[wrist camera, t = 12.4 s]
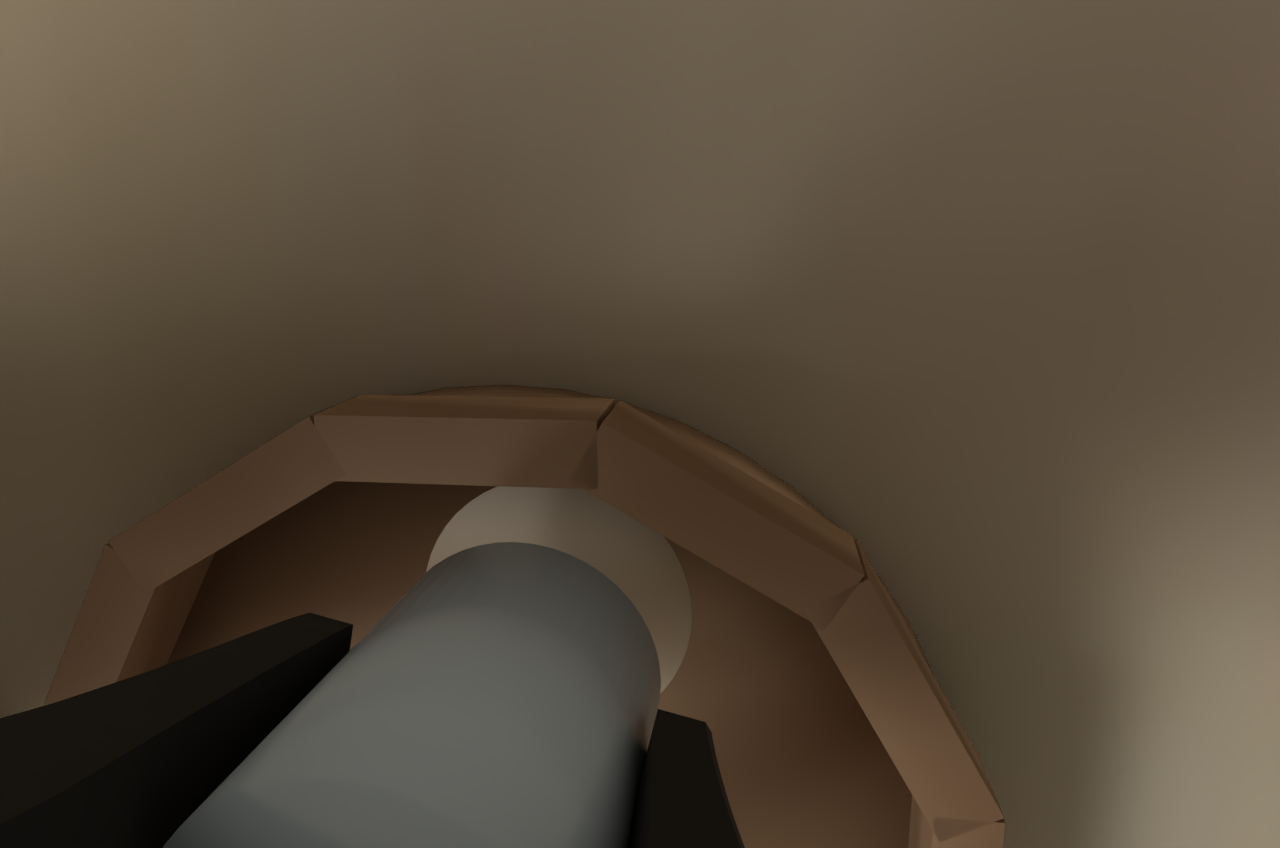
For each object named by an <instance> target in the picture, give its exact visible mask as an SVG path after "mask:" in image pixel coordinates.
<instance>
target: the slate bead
mask: <svg viewBox="0 0 1280 848" xmlns="http://www.w3.org/2000/svg"><path fill="white" fill-rule="evenodd" d="M660 690H661V675H660V664H659V660H658V655H657V651H656V647H655V644H654V642H653V639H652V636H651V634H650V631H649V629H648V627H647V625H646V624H645V622H644V620H643V618H642V616H641V614H640V613H639V612H638V610H637V609H636V607H635V606H634V605H633V603H632V602H631V600H630V599H629V598H628V597H627V596H626V595H625V594H624V593H623V592H622V590H621V589H620V588H619V587H618V586H617V585H616V584H614V583H613V582H612V581H611V580H610V579H609V578H607V577H606V576H605V575H604V574H603V573H601V572H600V571H598V570H597V569H595V568H594V567H592V566H591V565H589V564H588V563H586V562H584V561H582V560H580V559H578V558H576V557H574V556H572V555H570V554H567V553H564V552H561V551H559V550H556V549H553V548H549V547H545V546H541V545H536V544H530V543H520V542H497V543H490V544H484V545H478V546H475V547H472V548H468V549H465V550H462V551H460V552H458V553H455V554H453V555H451V556H449V557H447V558H445V559H444V560H442V561H441V562H439V563H437V564H436V565H434V566H433V567H432V568H431V569H430V570H428V571H427V572H426V573H425V574H424V575H423V576H421V577H420V578H419V579H418V581H417V582H416V583H415V584H414V585H413V586H412V587H411V588H410V589H409V590H408V591H407V592H406V593H405V594H404V595H403V596H402V597H401V598H400V599H399V600H398V601H397V602H396V603H395V604H394V605H393V606H392V607H391V608H390V610H389V611H388V612H387V613H386V614H385V615H384V616H383V617H382V618H381V619H380V620H379V621H378V622H377V623H376V624H375V625H374V626H373V627H372V628H371V629H370V630H369V631H368V632H367V633H366V634H365V635H364V636H363V637H362V638H361V640H360V641H359V642H358V643H357V644H356V645H355V646H354V647H353V648H352V649H351V650H350V651H349V652H348V653H347V654H346V655H345V656H344V657H343V658H342V659H341V660H340V661H339V662H338V663H337V664H336V665H335V666H334V667H333V668H332V670H331V671H330V672H329V673H328V674H327V675H326V676H325V677H324V678H323V679H322V680H321V681H320V682H319V683H318V684H317V685H316V686H315V687H314V688H313V689H312V690H311V691H310V692H309V693H308V694H307V695H306V696H305V697H304V699H303V700H302V701H301V702H300V703H299V704H298V705H297V706H296V707H295V708H294V709H293V710H292V711H291V712H290V713H289V714H288V715H287V716H286V717H285V718H284V719H283V720H282V721H281V722H280V723H279V724H278V725H277V726H276V727H275V729H274V730H273V731H272V732H271V733H270V734H269V735H268V736H267V737H266V738H265V739H264V740H263V741H262V742H261V743H260V744H259V745H258V746H257V747H256V748H255V749H254V750H253V751H252V752H251V753H250V754H249V755H248V756H247V757H246V759H245V760H244V761H243V762H242V763H241V764H240V765H239V766H238V767H237V768H236V769H235V770H234V771H233V772H232V773H231V774H230V775H229V776H228V777H227V778H226V779H225V780H224V781H223V782H222V783H221V784H220V785H219V786H218V788H217V789H216V790H215V791H214V792H213V793H212V794H211V795H210V796H209V797H208V798H207V799H206V800H205V801H204V802H203V803H202V804H201V805H200V806H199V807H198V808H197V809H196V810H195V811H194V812H193V813H192V814H191V815H190V816H189V818H188V819H187V820H186V821H185V822H184V823H183V824H182V825H181V826H180V827H179V828H178V829H177V830H176V832H175V833H174V834H173V835H172V836H171V838H170V839H169V840H168V841H167V842H166V844H165V845H164V846H163V848H628V846H629V841H630V835H631V829H632V822H633V815H634V809H635V804H636V800H637V795H638V790H639V786H640V781H641V777H642V772H643V767H644V763H645V758H646V753H647V749H648V745H649V741H650V738H651V734H652V730H653V726H654V722H655V718H656V714H657V710H658V705H659V700H660Z"/></svg>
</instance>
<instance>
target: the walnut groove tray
mask: <svg viewBox="0 0 1280 848" xmlns="http://www.w3.org/2000/svg"><path fill="white" fill-rule="evenodd" d="M108 542H109V543H108V544H106V545H105V547H104V550H103V553H102V555H101V558H100V560H99V563H98V566H97V568H96V571H95V573H94V576H93V579H92V581H91V584H90V586H89V589H88V592H87V594H86V597H85V599H84V602H83V605H82V607H81V610H80V612H79V615H78V618H77V620H76V623H75V625H74V628H73V631H72V633H71V636H70V638H69V641H68V643H67V646H66V649H65V651H64V654H63V656H62V659H61V662H60V664H59V667H58V669H57V672H56V675H55V677H54V680H53V682H52V685H51V688H50V690H49V693H48V695H47V698H46V701H45V703H44V706H45V705H49V704H52V703H55V702H59V701H61V700H64V699H67V698H70V697H73V696H76V695H79V694H82V693H85V692H88V691H91V690H94V689H97V688H100V687H103V686H106V685H109V684H112V683H115V682H118V681H121V680H124V679H127V678H130V677H133V676H136V675H139V674H142V673H145V672H148V671H151V670H154V669H156V668H159V667H162V666H164V665H167V664H170V663H172V662H175V661H178V660H180V659H183V658H186V657H188V656H191V655H194V654H196V653H199V652H202V651H204V650H207V649H210V648H212V647H215V646H218V645H220V644H223V643H226V642H228V641H231V640H234V639H236V638H239V637H241V636H244V635H247V634H249V633H252V632H254V631H257V630H260V629H262V628H265V627H268V626H270V625H273V624H276V623H279V622H281V621H284V620H287V619H290V618H293V617H296V616H299V615H303V614H306V613H309V612H310V613H313V614H317V615H320V616H324V617H328V618H331V619H335V620H339V621H342V622H346V623H349V624H353V630H352V638H351V645H350V650H351V649H352V648H353V647H354V646H355V645H356V644H357V643H358V642H359V641H360V640H361V638H362V637H363V636H364V635H365V634H366V633H367V632H368V631H369V630H370V629H371V628H372V627H373V626H374V625H375V624H376V623H377V622H378V621H379V620H380V619H381V618H382V617H383V616H384V615H385V614H386V613H387V612H388V611H389V610H390V608H391V607H392V606H393V605H394V604H395V603H396V602H397V601H398V600H399V599H400V598H401V597H402V596H403V595H404V594H405V593H406V592H407V591H408V590H409V589H410V588H411V587H412V586H413V585H414V584H415V583H416V582H417V581H418V579H419V578H420V577H421V576H423V575H424V574H425V573H426V572H427V571H428V570H430V569H431V568H432V567H433V566H434V565H436V564H437V563H439V562H441V561H442V560H444V559H445V558H447V557H449V556H451V555H453V554H455V553H458V552H460V551H462V550H465V549H468V548H472V547H475V546H478V545H484V544H490V543H497V542H520V543H530V544H536V545H541V546H545V547H549V548H553V549H556V550H559V551H561V552H564V553H567V554H570V555H572V556H574V557H576V558H578V559H580V560H582V561H584V562H586V563H588V564H589V565H591V566H592V567H594V568H595V569H597V570H598V571H600V572H601V573H603V574H604V575H605V576H606V577H607V578H609V579H610V580H611V581H612V582H613V583H614V584H616V585H617V586H618V587H619V588H620V589H621V590H622V592H623V593H624V594H625V595H626V596H627V597H628V598H629V599H630V600H631V602H632V603H633V605H634V606H635V607H636V609H637V610H638V612H639V613H640V614H641V616H642V618H643V620H644V622H645V624H646V625H647V627H648V629H649V631H650V634H651V636H652V639H653V642H654V644H655V647H656V651H657V655H658V660H659V664H660V675H661V690H660V700H659V705H658V709H660V710H664V711H667V712H671V713H675V714H678V715H682V716H685V717H689V718H693V719H696V720H700V721H704V722H706V724H707V725H708V727H709V729H710V731H711V732H712V738H713V743H714V748H715V753H716V757H717V762H718V766H719V769H720V773H721V777H722V780H723V784H724V787H725V791H726V794H727V797H728V801H729V804H730V807H731V810H732V813H733V816H734V819H735V822H736V825H737V827H738V830H739V833H740V836H741V838H742V841H743V844H744V847H745V848H1003V843H1004V833H1005V824H1006V823H1005V821H1004V816H1003V813H1002V811H1001V809H1000V806H999V804H998V801H997V799H996V797H995V794H994V792H993V789H992V787H991V784H990V782H989V780H988V777H987V775H986V772H985V770H984V768H983V765H982V763H981V760H980V758H979V756H978V753H977V752H976V750H975V748H974V746H973V745H972V743H971V741H970V739H969V737H968V736H967V734H966V732H965V730H964V729H963V727H962V725H961V723H960V722H959V720H958V718H957V716H956V715H955V713H954V711H953V709H952V707H951V706H950V704H949V702H948V700H947V699H946V697H945V695H944V693H943V692H942V690H941V688H940V686H939V684H938V683H937V681H936V679H935V677H934V676H933V673H932V671H931V669H930V666H929V664H928V662H927V660H926V658H925V656H924V654H923V652H922V650H921V647H920V645H919V643H918V641H917V639H916V637H915V635H914V633H913V631H912V629H911V626H910V624H909V622H908V620H907V618H906V617H905V615H904V614H903V612H902V611H901V609H900V608H899V606H898V605H897V603H896V602H895V600H894V599H893V597H892V596H891V594H890V593H889V591H888V590H887V588H886V587H885V585H884V584H883V582H882V581H881V579H880V578H879V576H878V575H877V573H876V572H875V570H874V569H873V568H872V566H871V564H870V563H869V561H868V559H867V557H866V555H865V554H864V552H863V550H862V548H861V547H860V545H859V543H858V541H857V540H854V539H853V535H851V534H849V533H847V532H846V531H844V530H842V529H841V528H839V527H837V526H835V525H834V524H833V523H832V522H831V521H829V520H828V519H827V518H826V517H825V516H824V515H823V514H821V513H820V512H819V511H818V510H817V509H816V508H815V507H813V506H812V505H811V504H810V503H809V502H808V501H807V500H805V499H804V498H803V497H802V496H801V495H800V494H799V493H798V492H796V491H795V490H794V489H793V488H792V487H791V486H790V485H788V484H787V483H785V482H784V481H782V480H781V479H779V478H778V477H776V476H775V475H773V474H772V473H770V472H769V471H767V470H766V469H764V468H763V467H761V466H760V465H758V464H757V463H755V462H754V461H752V460H751V459H749V458H748V457H746V456H745V455H743V454H742V453H740V452H739V451H737V450H735V449H733V448H731V447H729V446H727V445H725V444H723V443H721V442H719V441H717V440H715V439H713V438H711V437H709V436H707V435H705V434H703V433H701V432H699V431H697V430H695V429H693V428H691V427H689V426H687V425H685V424H683V423H681V422H678V421H675V420H672V419H670V418H667V417H664V416H661V415H658V414H655V413H652V412H650V411H647V410H644V409H641V408H638V407H635V406H632V405H630V404H627V403H624V402H622V401H621V400H620V401H615V399H607V398H601V397H596V396H591V395H587V394H582V393H577V392H572V391H568V390H562V389H549V388H537V387H524V386H512V385H493V386H474V387H455V388H444V389H438V390H433V391H428V392H423V393H418V394H412V395H360V396H356V397H353V398H351V399H349V400H346V401H344V402H341V403H339V404H337V405H334V406H332V407H330V408H327V409H325V410H322V411H320V412H318V413H315V414H313V415H311V416H308V417H307V418H305V419H303V420H302V421H300V422H299V423H297V424H295V425H294V426H292V427H291V428H289V429H287V430H286V431H284V432H283V433H281V434H279V435H278V436H276V437H275V438H273V439H271V440H270V441H268V442H267V443H265V444H263V445H262V446H260V447H259V448H257V449H255V450H254V451H252V452H251V453H249V454H247V455H246V456H244V457H243V458H241V459H239V460H238V461H236V462H235V463H233V464H231V465H230V466H228V467H227V468H225V469H223V470H222V471H220V472H219V473H217V474H215V475H214V476H212V477H211V478H209V479H207V480H206V481H204V482H203V483H201V484H199V485H198V486H196V487H195V488H193V489H191V490H190V491H188V492H187V493H185V494H183V495H182V496H180V497H179V498H177V499H175V500H174V501H172V502H171V503H169V504H167V505H166V506H164V507H163V508H161V509H159V510H158V511H156V512H155V513H153V514H151V515H150V516H148V517H147V518H145V519H143V520H142V521H140V522H139V523H137V524H135V525H134V526H132V527H131V528H129V529H127V530H126V531H124V532H123V533H121V534H119V535H118V536H116V537H115V538H113V539H111V540H110V541H108Z"/></svg>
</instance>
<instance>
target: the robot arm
mask: <svg viewBox="0 0 1280 848" xmlns="http://www.w3.org/2000/svg"><path fill="white" fill-rule="evenodd" d="M352 630H353V624H349V623H346V622H342V621H339V620H335V619H331V618H328V617H324V616H320V615H317V614H313V613H310V612H309V613H306V614H303V615H299V616H296V617H293V618H290V619H287V620H284V621H281V622H279V623H276V624H273V625H270V626H268V627H265V628H262V629H260V630H257V631H254V632H252V633H249V634H247V635H244V636H241V637H239V638H236V639H234V640H231V641H228V642H226V643H223V644H220V645H218V646H215V647H212V648H210V649H207V650H204V651H202V652H199V653H196V654H194V655H191V656H188V657H186V658H183V659H180V660H178V661H175V662H172V663H170V664H167V665H164V666H162V667H159V668H156V669H154V670H151V671H148V672H145V673H142V674H139V675H136V676H133V677H130V678H127V679H124V680H121V681H118V682H115V683H112V684H109V685H106V686H103V687H100V688H97V689H94V690H91V691H88V692H85V693H82V694H79V695H76V696H73V697H70V698H67V699H64V700H61V701H59V702H55V703H52V704H49V705H45V706H42V707H39V708H35V709H32V710H29V711H25V712H22V713H18V714H15V715H11V716H7V717H4V718H0V848H163V846H164V845H165V844H166V842H167V841H168V840H169V839H170V838H171V836H172V835H173V834H174V833H175V832H176V830H177V829H178V828H179V827H180V826H181V825H182V824H183V823H184V822H185V821H186V820H187V819H188V818H189V816H190V815H191V814H192V813H193V812H194V811H195V810H196V809H197V808H198V807H199V806H200V805H201V804H202V803H203V802H204V801H205V800H206V799H207V798H208V797H209V796H210V795H211V794H212V793H213V792H214V791H215V790H216V789H217V788H218V786H219V785H220V784H221V783H222V782H223V781H224V780H225V779H226V778H227V777H228V776H229V775H230V774H231V773H232V772H233V771H234V770H235V769H236V768H237V767H238V766H239V765H240V764H241V763H242V762H243V761H244V760H245V759H246V757H247V756H248V755H249V754H250V753H251V752H252V751H253V750H254V749H255V748H256V747H257V746H258V745H259V744H260V743H261V742H262V741H263V740H264V739H265V738H266V737H267V736H268V735H269V734H270V733H271V732H272V731H273V730H274V729H275V727H276V726H277V725H278V724H279V723H280V722H281V721H282V720H283V719H284V718H285V717H286V716H287V715H288V714H289V713H290V712H291V711H292V710H293V709H294V708H295V707H296V706H297V705H298V704H299V703H300V702H301V701H302V700H303V699H304V697H305V696H306V695H307V694H308V693H309V692H310V691H311V690H312V689H313V688H314V687H315V686H316V685H317V684H318V683H319V682H320V681H321V680H322V679H323V678H324V677H325V676H326V675H327V674H328V673H329V672H330V671H331V670H332V668H333V667H334V666H335V665H336V664H337V663H338V662H339V661H340V660H341V659H342V658H343V657H344V656H345V655H346V654H347V653H348V652H349V651H350V645H351V638H352ZM628 848H745V847H744V844H743V841H742V838H741V836H740V833H739V830H738V827H737V825H736V822H735V819H734V816H733V813H732V810H731V807H730V804H729V801H728V797H727V794H726V791H725V787H724V784H723V780H722V777H721V773H720V769H719V766H718V762H717V757H716V753H715V748H714V743H713V738H712V732H711V731H710V729H709V727H708V725H707V724H706V722H704V721H700V720H696V719H693V718H689V717H685V716H682V715H678V714H675V713H671V712H667V711H664V710H660V709H658V710H657V714H656V718H655V722H654V726H653V730H652V734H651V738H650V741H649V745H648V749H647V753H646V758H645V763H644V767H643V772H642V777H641V781H640V786H639V790H638V795H637V800H636V804H635V809H634V815H633V822H632V829H631V835H630V841H629V846H628Z"/></svg>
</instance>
